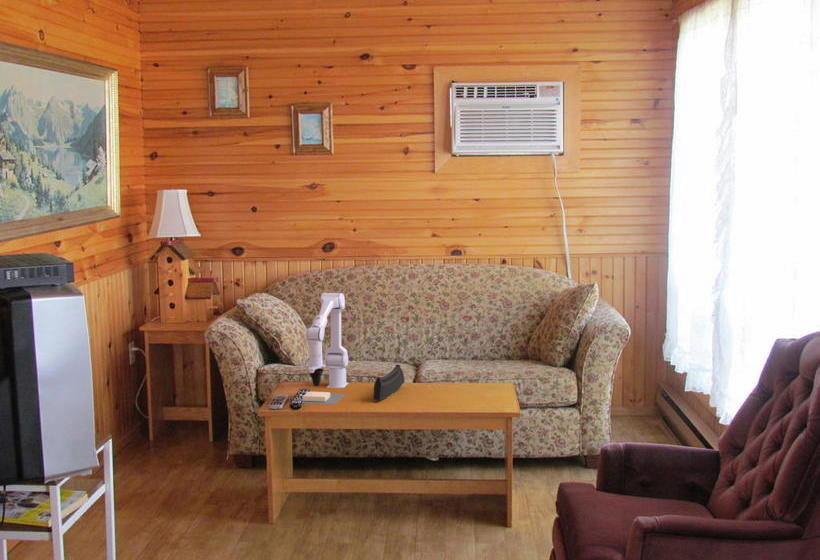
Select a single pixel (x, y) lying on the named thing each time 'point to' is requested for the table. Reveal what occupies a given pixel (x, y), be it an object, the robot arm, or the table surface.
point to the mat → (332, 400)
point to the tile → (316, 396)
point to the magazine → (388, 384)
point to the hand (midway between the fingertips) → (316, 385)
